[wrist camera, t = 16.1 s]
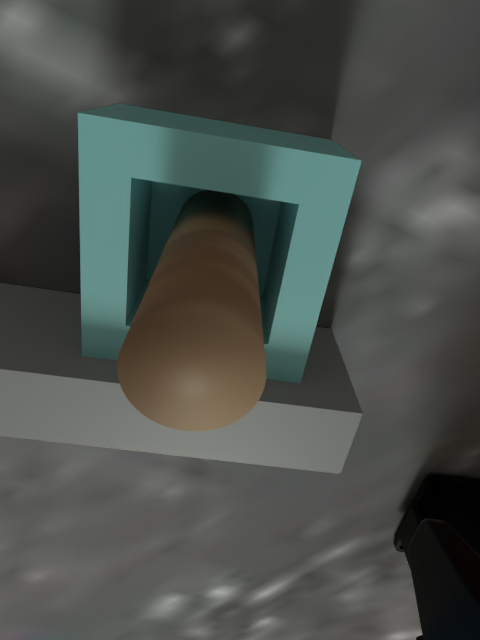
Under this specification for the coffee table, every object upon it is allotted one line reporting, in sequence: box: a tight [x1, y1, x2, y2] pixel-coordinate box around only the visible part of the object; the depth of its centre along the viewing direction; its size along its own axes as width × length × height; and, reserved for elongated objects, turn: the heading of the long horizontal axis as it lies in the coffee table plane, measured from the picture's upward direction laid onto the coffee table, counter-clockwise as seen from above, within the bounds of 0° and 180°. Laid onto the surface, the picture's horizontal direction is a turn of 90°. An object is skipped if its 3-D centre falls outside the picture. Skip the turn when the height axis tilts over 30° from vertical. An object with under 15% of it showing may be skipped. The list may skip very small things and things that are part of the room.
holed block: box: [78, 104, 362, 383], centre depth 16 cm, size 8×8×5 cm
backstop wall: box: [0, 283, 363, 474], centre depth 18 cm, size 18×3×6 cm, turn 81°
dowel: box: [117, 190, 266, 432], centre depth 13 cm, size 3×3×10 cm
